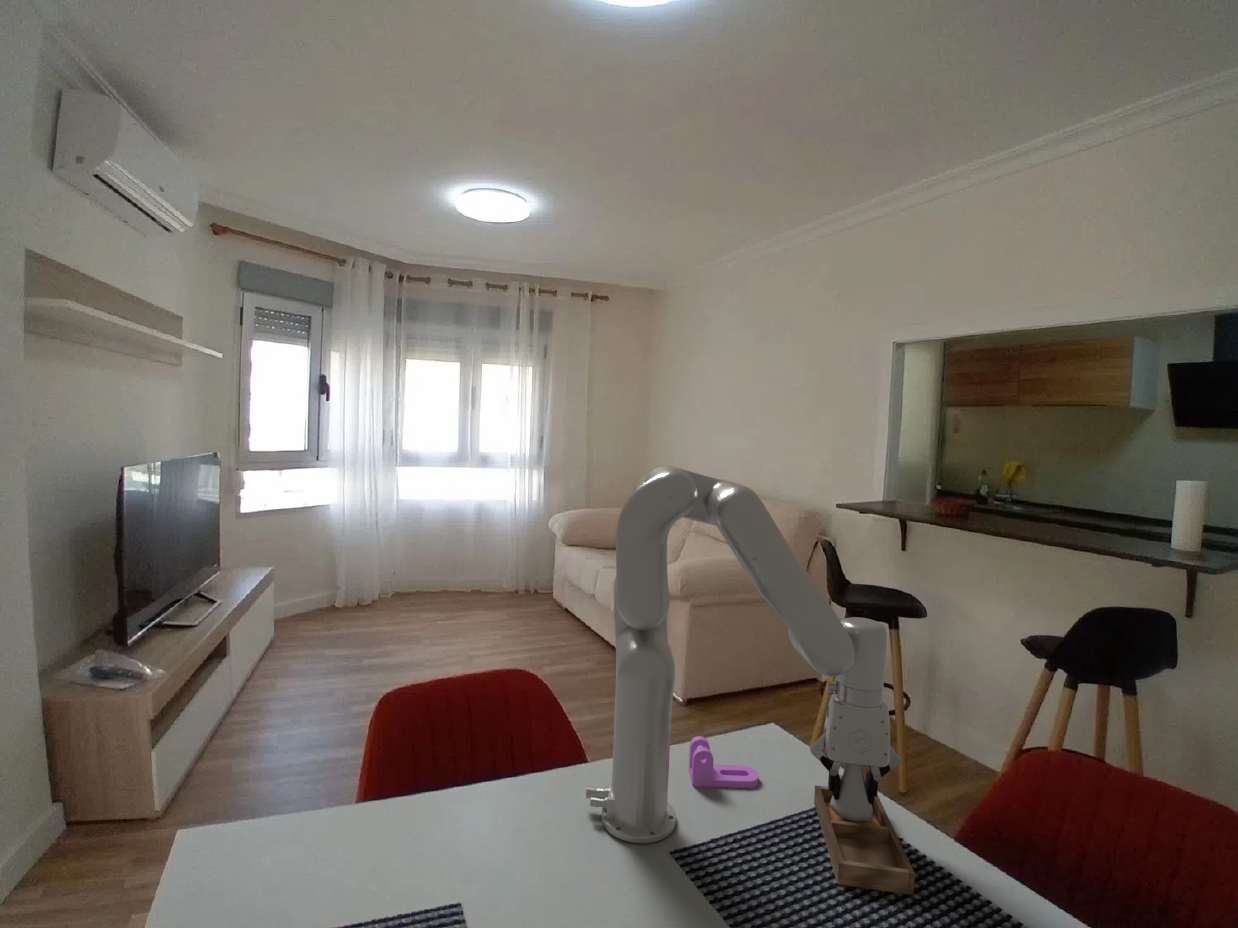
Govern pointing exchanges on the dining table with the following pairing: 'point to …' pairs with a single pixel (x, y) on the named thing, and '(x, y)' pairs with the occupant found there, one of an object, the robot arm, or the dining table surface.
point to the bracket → (717, 769)
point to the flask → (852, 796)
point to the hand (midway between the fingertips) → (851, 795)
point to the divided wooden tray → (864, 848)
